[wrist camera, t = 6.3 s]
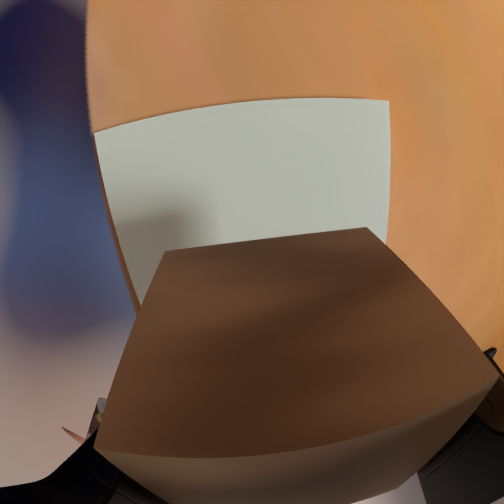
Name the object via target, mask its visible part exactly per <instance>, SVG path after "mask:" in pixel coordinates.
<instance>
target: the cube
mask: <svg viewBox="0 0 504 504" xmlns="http://www.w3.org/2000/svg"><path fill="white" fill-rule="evenodd" d="M499 376H500V375H499V373H498V372H497V371H496V369H495V368H494V367H493V365H492V364H491V362H490V361H489V360H488V358H487V357H486V356H485V354H484V353H483V352H482V351H481V349H480V348H479V347H478V345H477V344H476V343H475V342H474V340H473V339H472V338H471V337H470V335H469V334H468V333H467V332H466V331H465V329H464V328H463V327H462V326H461V324H460V323H459V322H458V321H457V320H456V319H455V317H454V316H453V315H452V314H451V313H450V312H449V310H448V309H447V308H446V307H445V306H444V305H443V304H442V303H441V301H440V300H439V299H438V298H437V297H436V296H435V295H434V294H433V293H432V291H431V290H430V289H429V288H428V287H427V286H426V285H425V284H424V283H423V282H422V281H421V280H420V279H419V278H418V277H417V276H416V275H415V273H414V272H413V271H412V270H411V269H410V268H409V267H408V266H407V265H406V264H405V263H404V262H403V261H402V260H401V259H400V258H399V257H398V256H397V255H396V254H395V253H394V252H393V251H392V250H391V249H390V248H389V247H388V246H386V245H385V244H384V243H383V242H382V241H381V240H380V239H379V238H378V237H377V236H376V235H375V234H374V233H373V232H372V231H371V230H370V229H368V228H367V227H362V228H352V229H343V230H334V231H326V232H317V233H308V234H299V235H291V236H282V237H274V238H266V239H257V240H249V241H241V242H233V243H225V244H217V245H209V246H201V247H193V248H185V249H177V250H170V251H165V252H164V254H163V256H162V258H161V261H160V263H159V265H158V267H157V270H156V272H155V274H154V276H153V279H152V281H151V283H150V286H149V288H148V290H147V293H146V295H145V298H144V300H143V302H142V305H141V307H140V310H139V312H138V315H137V317H136V320H135V322H134V325H133V327H132V330H131V333H130V335H129V338H128V341H127V343H126V346H125V349H124V352H123V354H122V357H121V360H120V363H119V366H118V368H117V371H116V374H115V377H114V380H113V383H112V386H111V389H110V392H109V395H108V398H107V402H106V405H105V408H104V411H103V415H102V418H101V422H100V425H99V429H98V432H97V436H96V439H95V443H94V447H93V448H94V449H95V450H96V451H98V452H99V453H100V454H101V455H102V456H103V457H105V458H106V459H107V460H108V461H110V462H111V463H112V464H113V465H114V466H116V467H117V468H118V469H120V470H121V471H122V472H124V473H125V474H126V475H128V476H129V477H130V478H132V479H133V480H134V481H136V482H137V483H139V484H140V485H142V486H143V487H144V488H146V489H147V490H149V491H150V492H152V493H154V494H155V495H157V496H158V497H160V498H161V499H163V500H165V501H166V502H168V503H170V504H351V503H355V502H358V501H362V500H365V499H368V498H371V497H374V496H377V495H380V494H383V493H386V492H389V491H391V490H394V489H397V488H398V487H399V486H401V485H402V484H403V483H404V482H406V481H407V480H408V479H409V478H410V477H411V476H412V475H414V474H415V473H416V472H417V471H418V470H419V469H420V468H422V467H423V466H424V465H425V464H426V463H427V462H428V461H429V460H430V459H431V458H432V457H433V456H434V455H435V454H436V453H437V452H438V451H439V450H440V449H441V448H442V447H443V446H444V445H445V444H446V443H447V442H448V441H449V440H450V439H451V438H452V437H453V436H454V434H455V433H456V432H457V431H458V430H459V429H460V428H461V427H462V425H463V424H464V423H465V422H466V421H467V419H468V418H469V417H470V416H471V415H472V413H473V412H474V411H475V410H476V408H477V407H478V406H479V404H480V403H481V402H482V400H483V399H484V398H485V396H486V395H487V394H488V392H489V391H490V389H491V388H492V387H493V385H494V384H495V382H496V381H497V379H498V378H499Z"/></svg>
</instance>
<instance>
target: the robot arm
mask: <svg viewBox="0 0 504 504" xmlns="http://www.w3.org/2000/svg"><path fill="white" fill-rule="evenodd" d="M496 352H497V349H496V348H493V349H491V350H489V351H487V352H485V353H484V354H485V356H486V357H487V358H488V360H489V361H490V362H491V364H492V365H493V367H494V368H495V369H496V371H497V372H498V373H499V375H500V376H499V378H498V379H497V381H496V382H495V384H494V385H493V387H492V388H491V389H490V391H489V392H488V394H487V395H486V396H485V398H484V399H483V400H482V402H481V403H480V404H479V406H478V407H477V408H476V410H475V411H474V412H473V413H472V415H471V416H470V417H469V418H468V419H467V421H466V422H465V423H464V424H463V425H462V427H461V428H460V429H459V430H458V431H457V432H456V433H455V434H454V436H453V437H452V438H451V439H450V440H449V441H448V442H447V443H446V444H445V445H444V446H443V447H442V448H441V449H440V450H439V451H438V452H437V453H436V454H435V455H434V456H433V457H432V458H431V459H430V460H429V461H428V462H427V463H426V464H425V465H424V466H423V467H422V468H420V469H419V470H418V471H417V475H418V478H419V481H420V484H421V487H422V490H423V494H424V497H425V500H426V503H427V504H504V374H503V372H502V371H501V369H500V368H499V367H498V365H497V364H496V363H495V361H494V360H493V357H494V355H495V353H496ZM98 429H99V426H98V428H97V429H96V430H95V431H94V432H93V433H92V434H91V436H90V437H89V438H88V439H87V440H86V441H85V442H84V443H83V444H82V445H81V446H80V447H79V448H78V449H77V450H76V451H75V452H74V453H73V454H72V455H71V456H70V457H69V458H68V459H67V460H66V461H65V462H63V463H62V464H61V465H60V466H59V467H58V468H57V469H56V470H55V471H54V472H53V473H51V474H50V475H49V476H47V477H46V478H44V479H42V480H39V481H36V482H32V483H26V484H20V485H14V486H7V487H0V504H170V503H168V502H166V501H165V500H163V499H161V498H160V497H158V496H157V495H155V494H154V493H152V492H150V491H149V490H147V489H146V488H144V487H143V486H142V485H140V484H139V483H137V482H136V481H134V480H133V479H132V478H130V477H129V476H128V475H126V474H125V473H124V472H122V471H121V470H120V469H118V468H117V467H116V466H114V465H113V464H112V463H111V462H110V461H108V460H107V459H106V458H105V457H103V456H102V455H101V454H100V453H99V452H98V451H96V450H95V449H94V448H93V447H94V443H95V439H96V436H97V432H98Z"/></svg>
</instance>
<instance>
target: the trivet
mask: <svg viewBox="0 0 504 504" xmlns="http://www.w3.org/2000/svg"><path fill="white" fill-rule="evenodd" d="M94 136H95V142H96V148H97V153H98V159H99V164H100V169H101V173H102V178H103V182H104V187H105V191H106V195H107V199H108V203H109V207H110V211H111V215H112V219H113V223H114V226H115V230H116V233H117V237H118V240H119V243H120V247H121V250H122V253H123V256H124V260H125V263H126V266H127V269H128V272H129V275H130V278H131V280H132V283H133V286H134V289H135V292H136V295H137V297H138V300H139V303H140V305H142V302H143V300H144V298H145V295H146V293H147V290H148V288H149V286H150V283H151V281H152V279H153V276H154V274H155V272H156V270H157V267H158V265H159V263H160V261H161V258H162V256H163V254H164V252H165V251H170V250H177V249H185V248H193V247H201V246H209V245H217V244H225V243H233V242H241V241H249V240H257V239H266V238H274V237H282V236H291V235H299V234H308V233H317V232H326V231H334V230H343V229H352V228H362V227H367V228H368V229H370V230H371V231H372V232H373V233H374V234H375V235H376V236H377V237H378V238H379V239H380V240H381V241H382V242H383V243H384V244H385V245H386V236H387V225H388V212H389V196H390V160H391V149H390V115H389V101H383V100H370V99H351V98H294V99H275V100H261V101H250V102H240V103H231V104H223V105H216V106H209V107H203V108H196V109H191V110H185V111H180V112H174V113H170V114H165V115H160V116H156V117H151V118H147V119H143V120H139V121H135V122H131V123H127V124H123V125H120V126H116V127H113V128H109V129H106V130H102V131H99V132H96V133H94Z"/></svg>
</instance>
